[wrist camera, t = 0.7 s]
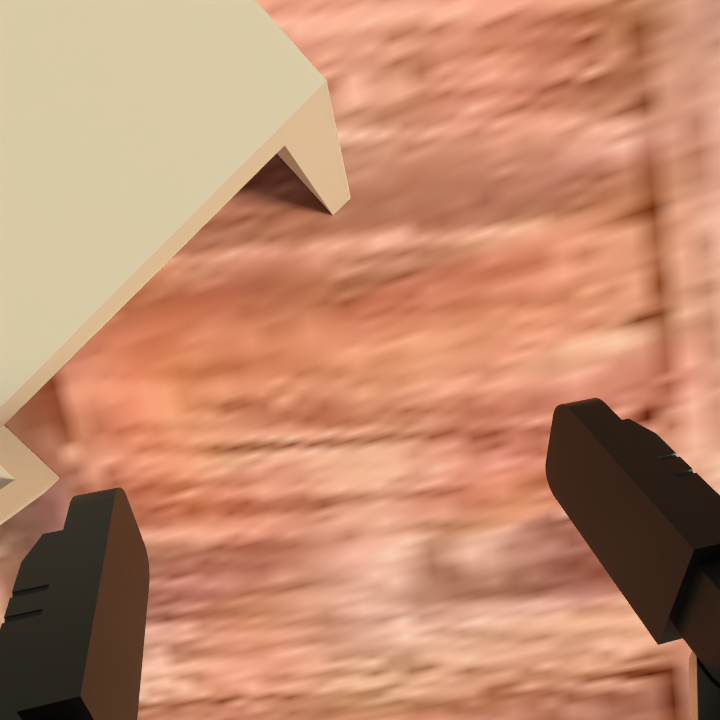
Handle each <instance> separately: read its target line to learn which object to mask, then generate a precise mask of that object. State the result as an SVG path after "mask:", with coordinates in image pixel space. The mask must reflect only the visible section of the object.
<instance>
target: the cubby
mask: <svg viewBox="0 0 720 720" xmlns="http://www.w3.org/2000/svg"><path fill="white" fill-rule="evenodd" d="M276 153H277V154H278V156H279V157H280V158H281V159H282V160H283V161H284V162H285V163H286V164H287V165H288V167H289V168H290V169H291V170H292V171H293V172H294V173H295V174H296V175H297V176H298V177H299V179H300V180H301V181H302V182H303V183H304V184H305V185H306V186H307V187H308V188H309V190H310V191H311V192H312V193H313V194H314V195H315V196H316V197H317V198H318V199H319V200H320V202H321V203H322V204H323V205H324V206H325V207H326V208H327V209H328V210H329V211H330V213H331V214H332V215H334V214H335V213H336V212H337V211H338V210H339V209H340V208H341V207H342V206H343V205H344V204H345V203H346V202H347V201H348V200H349V199H350V198H351V197H350V192H349V187H348V182H347V177H346V173H345V168H344V163H343V158H342V153H341V148H340V143H339V139H338V134H337V129H336V124H335V119H334V114H333V110H332V105H331V100H330V95H329V90H328V85H327V81H326V80H325V78H324V77H323V76H322V75H321V74H320V73H319V72H318V70H317V69H316V68H315V67H314V66H313V65H312V64H311V63H310V61H309V60H308V59H307V58H306V57H305V56H304V55H303V53H302V52H301V51H300V50H299V49H298V48H297V47H296V46H295V44H294V43H293V42H292V41H291V40H290V39H289V38H288V36H287V35H286V34H285V33H284V32H283V31H282V30H281V28H280V27H279V26H278V25H277V24H276V23H275V22H274V21H273V19H272V18H271V17H270V16H269V15H268V14H267V13H266V11H265V10H264V9H263V8H262V7H261V6H260V5H259V4H258V2H257V1H256V0H0V525H1V524H2V523H4V522H5V521H6V520H8V519H9V518H11V517H12V516H13V515H15V514H16V513H17V512H19V511H20V510H22V509H23V508H24V507H26V506H27V505H28V504H30V503H31V502H32V501H34V500H35V499H37V498H38V497H39V496H41V495H42V494H43V493H45V492H46V491H47V490H48V489H49V488H50V487H51V486H52V485H53V484H54V483H55V482H56V481H57V480H58V479H59V477H58V476H57V475H56V474H55V473H54V472H53V471H52V470H51V469H50V468H49V467H48V466H47V465H46V464H45V463H44V462H42V461H41V460H40V459H39V458H38V457H37V456H36V455H35V454H34V453H33V452H32V451H31V450H30V449H29V448H28V447H27V446H25V445H24V444H23V443H22V442H21V441H20V440H19V439H18V438H17V437H16V436H15V435H14V434H13V433H12V432H11V431H10V430H8V429H7V428H6V427H5V426H4V424H5V423H6V422H7V421H8V420H9V419H10V418H11V417H12V416H13V415H14V414H15V413H16V412H17V411H18V410H19V409H20V408H21V407H22V406H23V405H24V404H25V403H26V402H27V401H28V400H29V399H30V398H31V397H32V396H33V395H34V394H35V393H36V392H37V391H38V390H39V389H40V388H41V387H42V386H43V385H44V384H45V383H46V382H47V381H48V380H49V379H50V378H51V377H52V376H53V375H54V374H55V373H56V372H57V371H58V370H59V369H60V368H61V367H62V366H63V365H64V364H65V363H66V362H67V361H68V360H69V359H70V358H71V357H72V356H73V355H74V354H75V353H76V352H77V351H78V350H79V349H80V348H81V347H83V346H84V345H85V344H86V343H87V342H88V341H89V340H90V339H91V338H92V337H93V336H94V335H95V334H96V333H97V332H98V331H99V330H100V329H101V328H102V327H103V326H104V325H105V324H106V323H107V322H108V321H109V320H110V319H111V318H112V317H113V316H114V315H115V314H116V313H117V312H118V311H119V310H120V309H121V308H122V307H123V306H124V305H125V304H126V303H127V302H128V301H129V300H130V299H131V298H132V297H133V296H134V295H135V294H136V293H137V292H138V291H139V290H140V289H141V288H142V287H143V286H144V285H145V284H146V283H147V282H148V281H149V280H150V279H151V278H152V277H153V276H154V275H155V274H156V273H157V272H158V271H159V270H160V269H161V268H162V267H163V266H164V265H165V264H166V263H167V262H168V261H169V260H170V259H171V258H172V257H173V256H174V255H175V254H176V253H177V252H178V251H179V250H180V249H181V248H182V247H183V246H184V245H185V244H186V243H187V242H188V241H189V240H190V239H191V238H192V237H193V236H194V235H195V234H196V233H197V232H198V231H199V230H200V229H201V228H202V227H203V226H204V225H205V224H206V223H207V222H208V221H209V220H210V219H211V218H212V217H213V216H214V215H215V214H216V213H217V212H218V211H219V210H220V209H221V208H222V207H223V206H224V205H225V204H226V203H227V202H228V201H229V200H230V199H231V198H232V197H233V196H234V195H235V194H236V193H237V192H238V191H239V190H240V189H241V188H242V187H243V186H244V185H245V184H246V183H247V182H248V181H249V180H250V179H251V178H252V177H253V176H254V175H255V174H256V173H257V172H258V171H259V170H260V169H261V168H262V167H263V166H264V165H265V164H266V163H267V162H268V161H269V160H270V159H271V158H272V157H273V156H274V155H275V154H276Z"/></svg>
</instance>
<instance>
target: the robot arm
mask: <svg viewBox="0 0 720 720" xmlns="http://www.w3.org/2000/svg"><path fill="white" fill-rule="evenodd" d="M546 476H547V480H548V484H549V487H550V489H551V491H552V493H553V495H554V497H555V498H556V499H557V501H558V502H559V504H560V505H561V507H562V508H563V510H564V511H565V512H566V514H567V515H568V517H569V518H570V520H571V521H572V522H573V524H574V525H575V527H576V528H577V530H578V531H579V532H580V534H581V535H582V537H583V538H584V540H585V541H586V542H587V544H588V545H589V547H590V548H591V550H592V551H593V552H594V554H595V555H596V557H597V558H598V560H599V561H600V562H601V564H602V565H603V567H604V568H605V570H606V571H607V572H608V574H609V575H610V577H611V578H612V580H613V581H614V582H615V584H616V585H617V587H618V588H619V590H620V591H621V592H622V594H623V595H624V597H625V598H626V600H627V601H628V602H629V604H630V605H631V607H632V608H633V610H634V611H635V612H636V614H637V615H638V617H639V618H640V620H641V621H642V622H643V624H644V625H645V627H646V628H647V630H648V631H649V632H650V634H651V635H652V637H653V638H654V640H655V641H656V642H657V644H658V645H659V644H663V643H667V642H670V641H674V640H678V639H681V638H683V639H684V640H685V641H686V643H687V644H688V645H689V647H690V648H691V649H692V653H691V655H690V658H689V720H720V495H719V494H718V493H717V492H716V491H715V490H713V489H712V488H711V487H710V486H709V485H708V484H707V483H706V482H705V481H704V480H703V479H702V478H701V477H700V476H699V475H698V474H697V473H693V472H692V468H691V467H690V466H689V465H688V464H687V463H686V462H685V461H684V460H683V459H682V458H681V457H677V456H676V453H675V452H674V451H673V450H672V449H671V448H670V447H669V446H668V445H667V444H666V443H665V442H664V441H663V440H662V439H661V438H660V437H659V436H658V435H657V434H656V433H654V432H652V431H650V430H649V429H647V428H645V427H643V426H641V425H639V424H638V423H636V422H634V421H632V420H630V419H625V420H621V419H620V418H619V417H618V416H617V415H616V414H615V413H614V412H613V411H612V410H611V409H610V408H609V407H608V406H607V405H606V404H605V403H604V402H603V401H602V400H600V399H598V398H592V399H587V400H582V401H576V402H571V403H566V404H561V405H558V406H557V407H556V408H555V411H554V414H553V420H552V426H551V433H550V439H549V446H548V452H547V458H546ZM148 591H149V563H148V556H147V551H146V548H145V544H144V542H143V539H142V536H141V534H140V531H139V528H138V526H137V523H136V520H135V518H134V515H133V512H132V510H131V507H130V504H129V502H128V499H127V496H126V494H125V492H124V490H123V489H122V488H114V489H109V490H103V491H98V492H93V493H88V494H83V495H77V496H74V497H73V498H72V500H71V502H70V506H69V509H68V513H67V517H66V521H65V525H64V529H63V530H61V531H56V532H51V533H46V534H43V535H42V536H41V537H40V539H39V540H38V541H37V543H36V544H35V545H34V547H33V548H32V549H31V551H30V552H29V553H28V554H27V556H26V557H25V558H24V560H23V561H22V562H21V566H20V569H19V572H18V575H17V578H16V581H15V584H14V588H13V591H12V593H13V597H12V598H10V600H9V603H8V607H7V610H6V613H5V616H4V618H5V623H3V624H2V626H1V629H0V720H137V714H138V703H139V692H140V681H141V669H142V658H143V647H144V636H145V625H146V614H147V602H148Z"/></svg>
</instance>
